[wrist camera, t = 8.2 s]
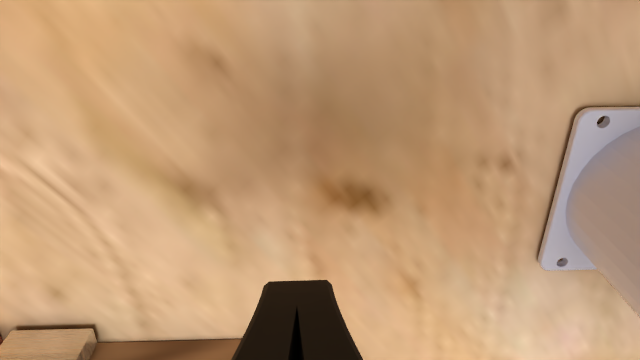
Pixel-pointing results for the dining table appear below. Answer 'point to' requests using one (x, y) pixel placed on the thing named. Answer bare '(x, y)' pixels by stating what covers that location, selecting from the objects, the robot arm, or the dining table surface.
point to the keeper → (48, 344)
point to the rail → (166, 350)
